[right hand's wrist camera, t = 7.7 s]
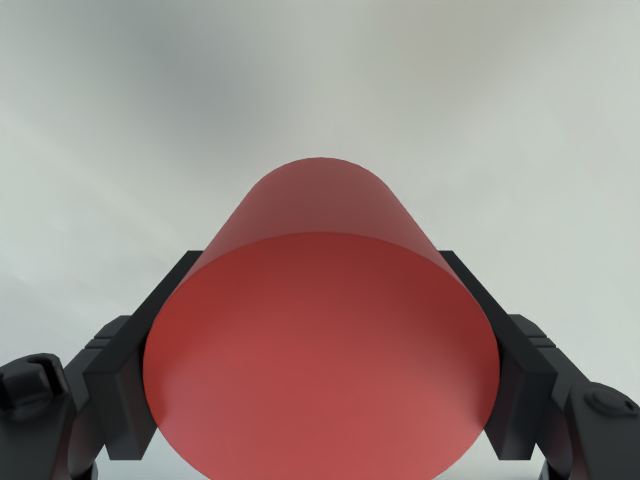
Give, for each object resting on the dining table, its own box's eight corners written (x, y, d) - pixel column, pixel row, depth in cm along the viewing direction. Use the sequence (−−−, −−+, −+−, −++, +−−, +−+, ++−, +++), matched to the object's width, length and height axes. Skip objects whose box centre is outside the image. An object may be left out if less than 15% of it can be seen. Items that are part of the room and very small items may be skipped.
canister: (197, 214, 17) (61, 344, 8) (357, 120, 15) (410, 150, 6) (291, 342, 20) (268, 542, 11) (435, 274, 18) (546, 444, 9)
